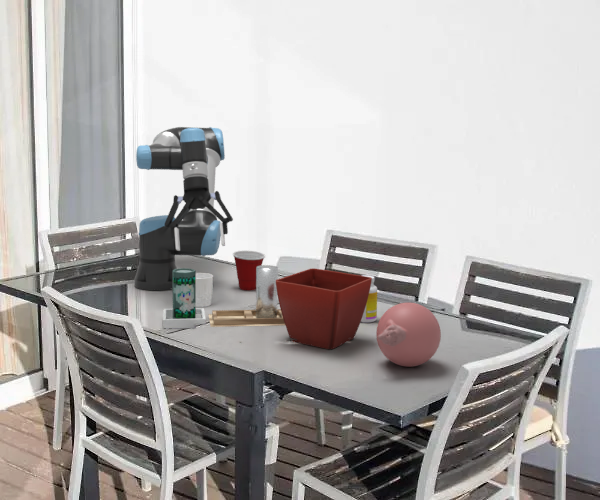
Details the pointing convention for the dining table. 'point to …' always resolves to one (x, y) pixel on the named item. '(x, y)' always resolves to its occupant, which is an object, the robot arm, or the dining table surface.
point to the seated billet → (266, 291)
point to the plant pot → (322, 306)
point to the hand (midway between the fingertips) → (200, 247)
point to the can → (184, 293)
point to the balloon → (408, 334)
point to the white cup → (204, 289)
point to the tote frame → (182, 320)
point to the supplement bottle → (370, 304)
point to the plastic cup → (247, 268)
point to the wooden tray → (242, 318)
